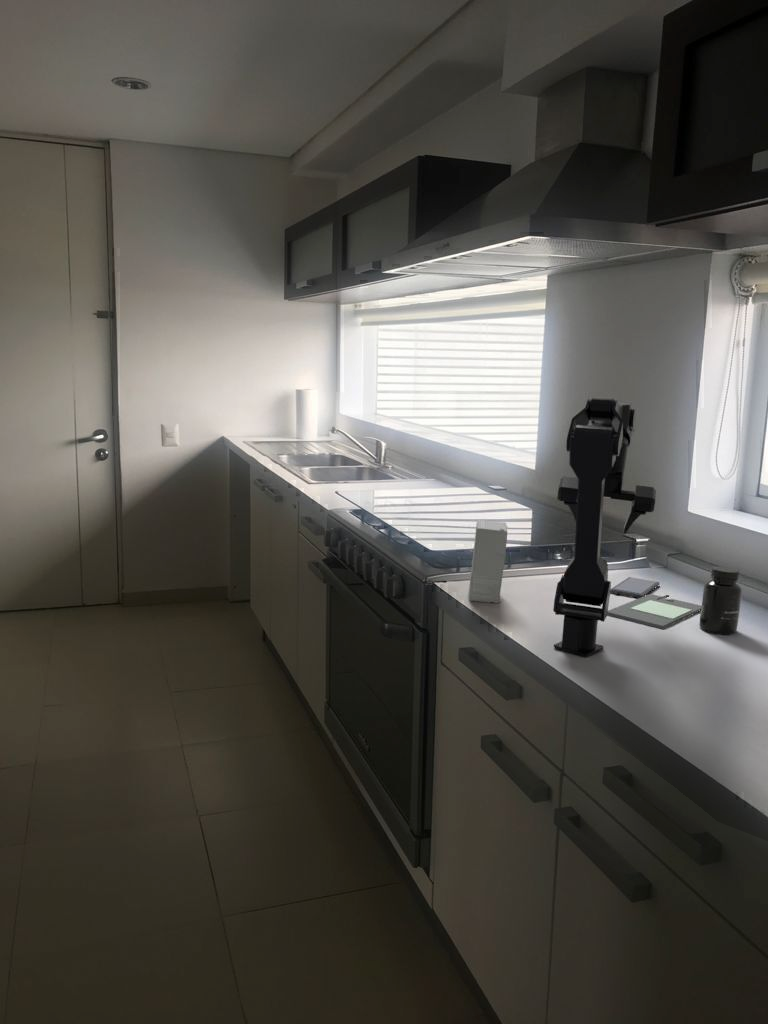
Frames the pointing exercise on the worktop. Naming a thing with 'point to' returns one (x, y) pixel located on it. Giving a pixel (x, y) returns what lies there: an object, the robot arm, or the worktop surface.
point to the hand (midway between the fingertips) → (601, 529)
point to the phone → (634, 587)
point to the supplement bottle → (721, 602)
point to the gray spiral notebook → (655, 611)
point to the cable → (648, 592)
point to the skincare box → (488, 561)
